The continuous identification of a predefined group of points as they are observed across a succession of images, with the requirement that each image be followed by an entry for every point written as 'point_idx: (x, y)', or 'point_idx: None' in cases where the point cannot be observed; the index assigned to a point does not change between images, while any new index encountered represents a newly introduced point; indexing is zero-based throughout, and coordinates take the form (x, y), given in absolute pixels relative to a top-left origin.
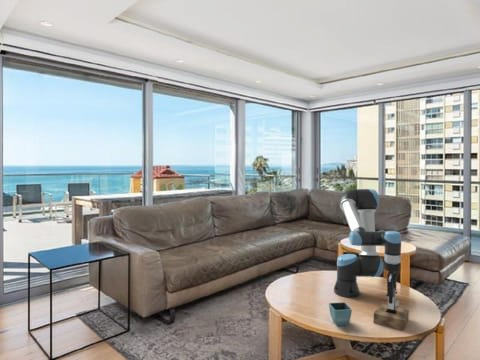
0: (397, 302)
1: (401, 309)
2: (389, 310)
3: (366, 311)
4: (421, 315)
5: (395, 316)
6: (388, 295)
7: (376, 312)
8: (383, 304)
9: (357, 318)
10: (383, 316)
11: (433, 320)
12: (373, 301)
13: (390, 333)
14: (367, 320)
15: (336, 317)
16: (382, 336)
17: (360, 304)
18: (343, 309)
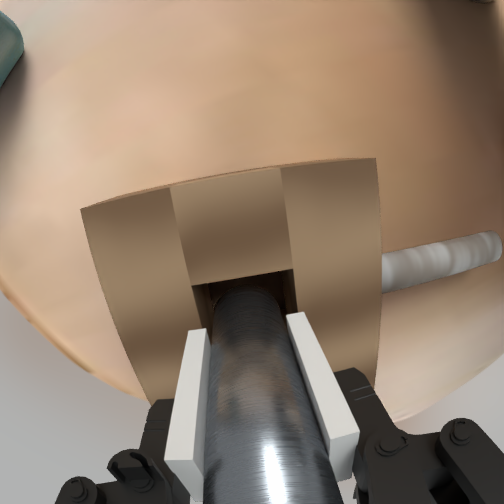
0: (483, 258)
1: (352, 359)
2: (214, 326)
3: (278, 67)
4: (427, 365)
5: (173, 374)
6: (71, 500)
7: (112, 221)
8: (369, 200)
9: (103, 77)
10: (109, 294)
11: (395, 413)
12: (464, 81)
13: (79, 331)
14: (120, 143)
15: None
16: (25, 307)
17: (365, 7)
18: (1, 18)
